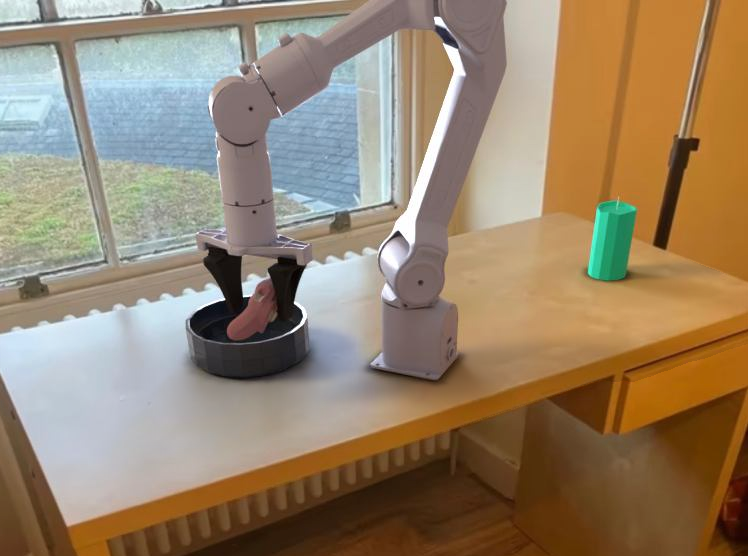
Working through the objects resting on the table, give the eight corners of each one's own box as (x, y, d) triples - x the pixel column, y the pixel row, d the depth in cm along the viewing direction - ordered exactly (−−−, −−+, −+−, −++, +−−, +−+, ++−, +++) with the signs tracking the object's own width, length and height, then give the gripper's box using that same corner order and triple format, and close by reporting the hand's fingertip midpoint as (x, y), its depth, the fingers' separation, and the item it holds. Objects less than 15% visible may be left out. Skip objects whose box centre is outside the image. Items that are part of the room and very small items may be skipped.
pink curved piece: (257, 356, 96) (277, 307, 91) (222, 338, 95) (241, 288, 91) (280, 321, 103) (300, 275, 99) (247, 305, 103) (266, 258, 98)
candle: (586, 266, 132) (597, 190, 125) (623, 267, 131) (636, 191, 124) (589, 280, 127) (600, 202, 120) (628, 281, 126) (641, 202, 119)
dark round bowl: (329, 339, 112) (327, 305, 109) (270, 390, 101) (266, 353, 98) (233, 321, 118) (229, 288, 115) (167, 367, 107) (160, 332, 104)
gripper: (173, 202, 89) (192, 317, 97) (286, 216, 84) (296, 336, 92) (209, 185, 94) (224, 296, 102) (318, 198, 89) (325, 313, 97)
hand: (260, 314), depth 98 cm, fingers closed on pink curved piece, 6 cm apart
